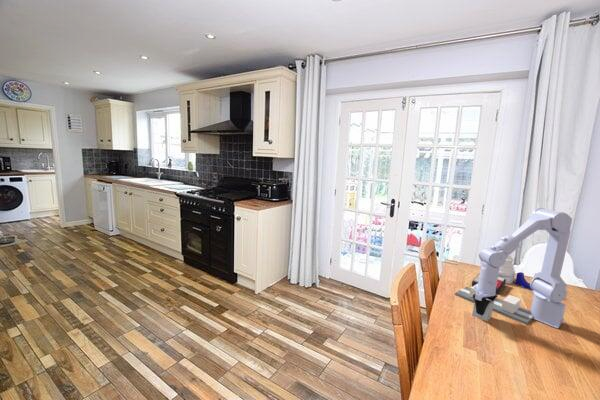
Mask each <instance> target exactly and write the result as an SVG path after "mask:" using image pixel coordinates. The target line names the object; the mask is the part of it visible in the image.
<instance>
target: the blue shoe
mask: <svg viewBox="0 0 600 400" xmlns="http://www.w3.org/2000/svg"><path fill="white" fill-rule="evenodd" d="M514 284H515V285H518V286H521V287H523V288H525V289H528V290H530V291H533V290H532V289H531V287H530V283H529V282H528V281H527V280H526V279H525V273H524V272H522V271H520V272H517V273H516V278H515V283H514Z"/></svg>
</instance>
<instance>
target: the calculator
mask: <svg viewBox="0 0 600 400" xmlns="http://www.w3.org/2000/svg"><path fill="white" fill-rule="evenodd" d="M479 276H480V272H479V273H478V274H477V275H476V276H475V277H474V278H473V279H472V282H471V287H473V286H474V285H476V284H478V282H479ZM505 282H506V279H504V278H501V277H498V279H497V285H496V295H497V296H498V295H499V294H500V293H501V292H502V290H503V289H504V288H505V286H506V283H505Z"/></svg>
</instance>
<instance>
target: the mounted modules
mask: <svg viewBox="0 0 600 400" xmlns="http://www.w3.org/2000/svg"><path fill="white" fill-rule="evenodd" d="M474 286H478V284H476V285H474ZM474 286H471V287H470V294H469V296H470V297H472V298H473V295H474V294H476V293H477V290H476V289H474ZM502 300H503V302H502V307H501V309H502V310H505V311H507V312H510V313H512V314H514V313H515V312H516V311H517V310H518V309H519V308H520V307H521V301H522V298H519V297H517V296H514V295H511V294H509V295H507V296H506V297H505V298H503V299H502Z"/></svg>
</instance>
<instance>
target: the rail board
mask: <svg viewBox="0 0 600 400" xmlns="http://www.w3.org/2000/svg"><path fill="white" fill-rule="evenodd" d="M470 288H471V287H469V286H465V287H463V288H460V289H459V290H458V291H456V292H455V293H454V295H455V296H456V297H458V298H462V299H464V300H465V301H466V300H467V301H468V302H471V303H473V304H474V302H475V301H474V299H473V298H472V297H470V296H469V294H470ZM503 300H504V299H501V298H498V297H496V298H495V300H494V305H493V310H492V312H494V313H497V314H499V315H502V316H504V317H507V318H509V319H512V320H514V321H516V322H519V323H521V324H523V325H526V326H527V325H528V324H530V322H531V321H532V320H533V319H532V318H533V315H532V314H531V313H530V311H531V309H527V308H524V307H522V306H520V308H519V309H518V310H517V311H516V312H515V313H514V314H512V313H510V312H507V311H505V310H502V309H501V307H502V302H503Z"/></svg>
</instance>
